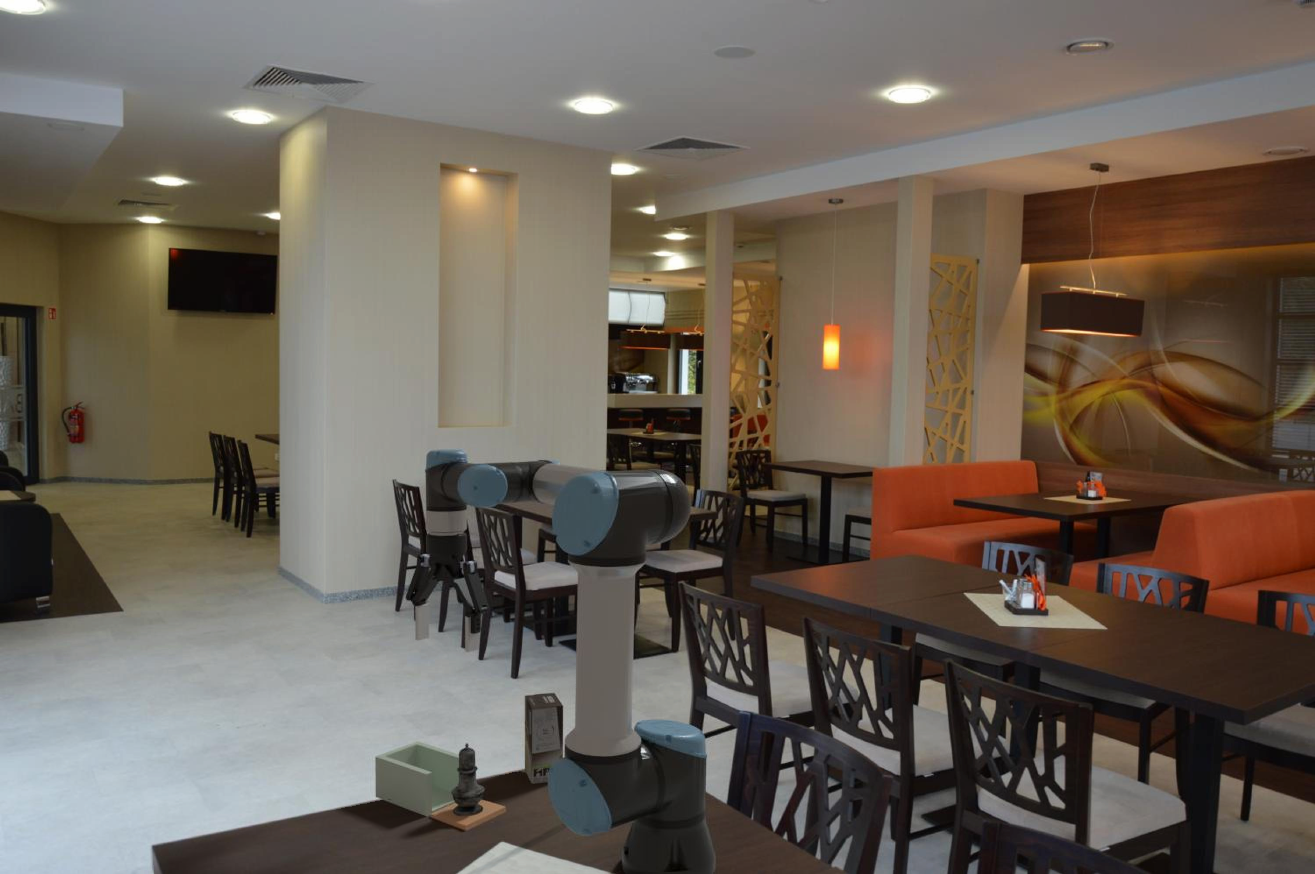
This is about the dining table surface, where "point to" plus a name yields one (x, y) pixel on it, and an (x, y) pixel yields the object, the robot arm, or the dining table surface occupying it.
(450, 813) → the flat tan square board
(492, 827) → the dining table surface
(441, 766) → the crate
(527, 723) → the coffee box
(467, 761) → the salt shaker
